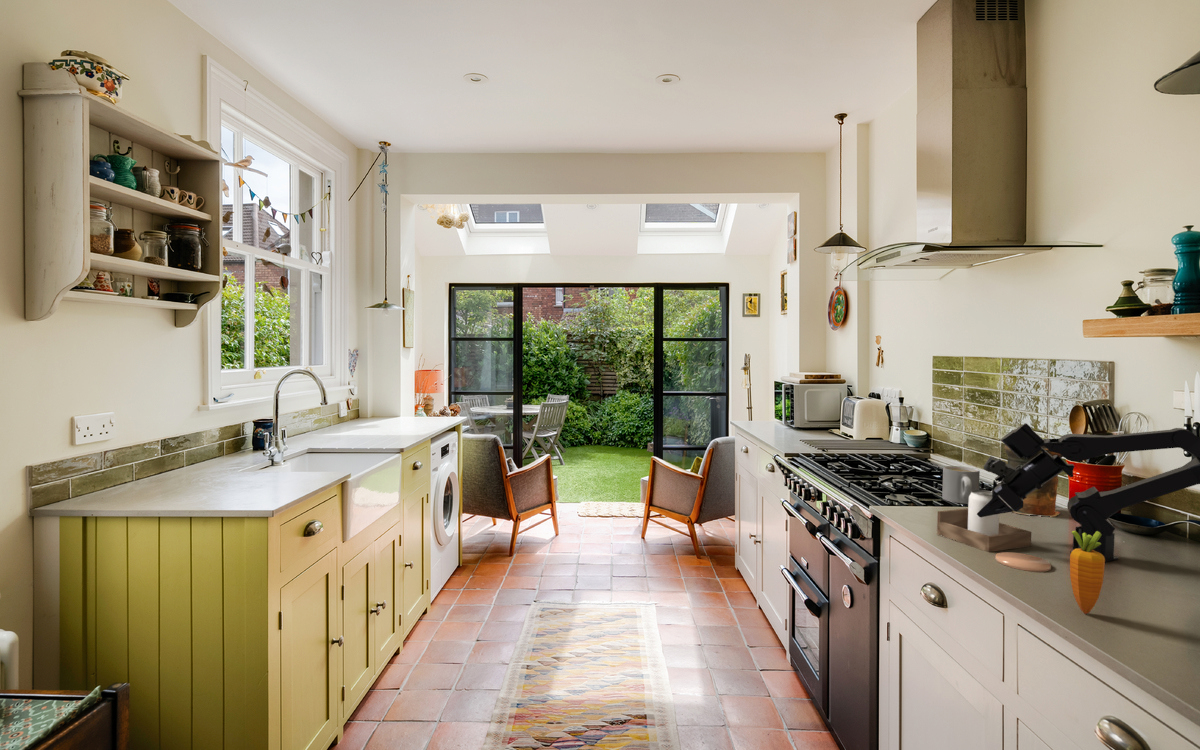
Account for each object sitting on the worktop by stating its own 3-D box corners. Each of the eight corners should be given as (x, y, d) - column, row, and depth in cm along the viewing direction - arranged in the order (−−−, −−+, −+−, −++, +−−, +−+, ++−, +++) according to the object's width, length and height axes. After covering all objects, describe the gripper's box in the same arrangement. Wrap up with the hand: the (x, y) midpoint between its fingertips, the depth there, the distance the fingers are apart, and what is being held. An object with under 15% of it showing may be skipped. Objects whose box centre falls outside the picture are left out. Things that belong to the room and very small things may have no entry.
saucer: (1062, 568, 129) (1062, 564, 129) (1029, 573, 125) (1029, 570, 125) (1016, 553, 138) (1016, 550, 138) (984, 558, 135) (984, 554, 135)
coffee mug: (941, 494, 197) (942, 464, 196) (977, 498, 192) (978, 467, 192) (943, 503, 185) (944, 471, 185) (981, 507, 180) (982, 474, 180)
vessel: (1068, 520, 166) (1068, 449, 166) (1006, 514, 173) (1006, 446, 173) (1060, 509, 179) (1060, 443, 178) (1002, 504, 186) (1002, 440, 185)
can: (989, 536, 151) (990, 489, 151) (1003, 544, 145) (1005, 495, 144) (962, 535, 152) (963, 489, 151) (975, 543, 145) (977, 495, 145)
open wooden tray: (1031, 546, 144) (1031, 521, 144) (988, 551, 139) (989, 526, 139) (977, 529, 157) (978, 507, 157) (937, 534, 152) (937, 511, 152)
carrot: (1061, 610, 107) (1063, 527, 107) (1079, 606, 109) (1081, 525, 109) (1092, 621, 103) (1095, 535, 102) (1110, 617, 105) (1113, 532, 104)
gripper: (1007, 442, 153) (955, 479, 159) (1007, 451, 137) (950, 492, 144) (1044, 476, 148) (989, 513, 155) (1049, 490, 133) (988, 530, 140)
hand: (978, 511), depth 148 cm, fingers open, 9 cm apart
